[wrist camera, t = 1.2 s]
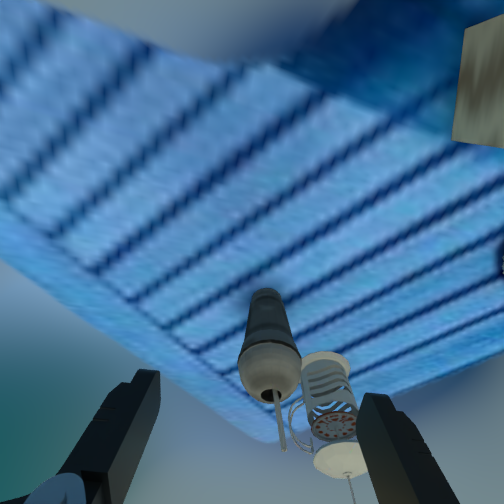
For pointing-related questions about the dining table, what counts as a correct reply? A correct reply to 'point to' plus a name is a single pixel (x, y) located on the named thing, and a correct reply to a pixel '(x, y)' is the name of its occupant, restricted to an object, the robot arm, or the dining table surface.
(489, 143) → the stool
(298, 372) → the beverage cup
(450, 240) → the dining table surface
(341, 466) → the french press
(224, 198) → the dining table surface
